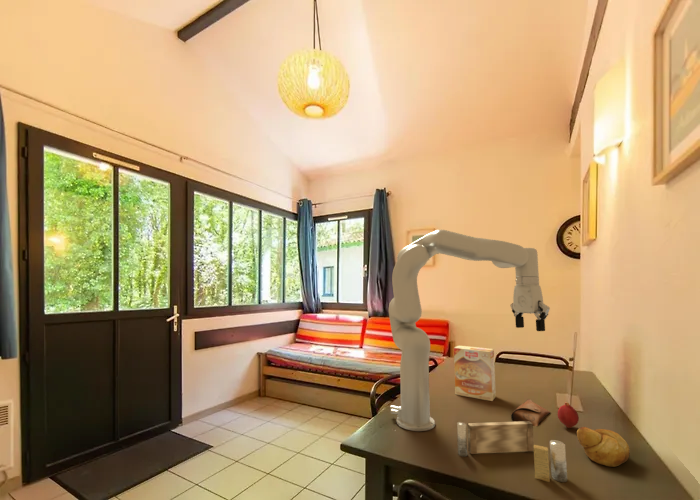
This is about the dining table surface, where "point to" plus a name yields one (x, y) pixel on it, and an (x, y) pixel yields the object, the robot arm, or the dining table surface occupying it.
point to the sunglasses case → (529, 413)
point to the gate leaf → (500, 437)
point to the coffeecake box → (474, 372)
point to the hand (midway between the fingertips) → (529, 329)
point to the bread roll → (603, 446)
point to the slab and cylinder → (556, 462)
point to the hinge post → (462, 439)
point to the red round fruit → (568, 415)
